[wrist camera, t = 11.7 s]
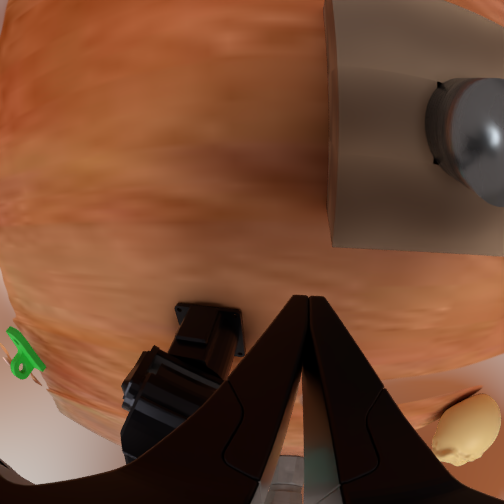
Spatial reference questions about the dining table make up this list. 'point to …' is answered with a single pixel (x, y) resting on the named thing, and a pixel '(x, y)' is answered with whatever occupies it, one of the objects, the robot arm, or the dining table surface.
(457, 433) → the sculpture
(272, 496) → the coffeepot
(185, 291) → the dining table surface
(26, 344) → the mechanical part
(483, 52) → the block
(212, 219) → the dining table surface
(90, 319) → the dining table surface
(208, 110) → the dining table surface
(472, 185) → the steel pin
